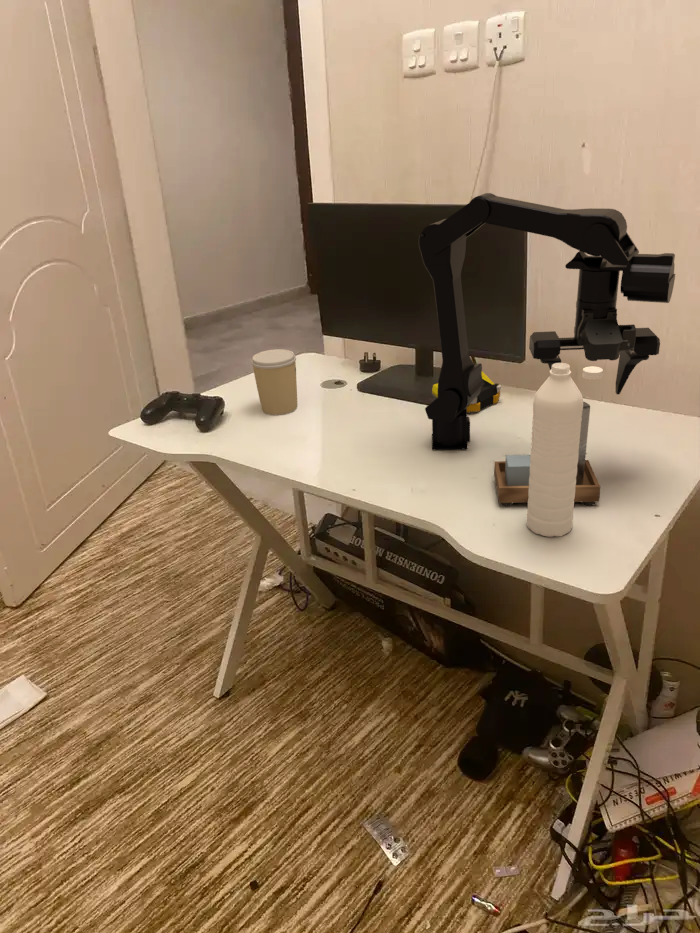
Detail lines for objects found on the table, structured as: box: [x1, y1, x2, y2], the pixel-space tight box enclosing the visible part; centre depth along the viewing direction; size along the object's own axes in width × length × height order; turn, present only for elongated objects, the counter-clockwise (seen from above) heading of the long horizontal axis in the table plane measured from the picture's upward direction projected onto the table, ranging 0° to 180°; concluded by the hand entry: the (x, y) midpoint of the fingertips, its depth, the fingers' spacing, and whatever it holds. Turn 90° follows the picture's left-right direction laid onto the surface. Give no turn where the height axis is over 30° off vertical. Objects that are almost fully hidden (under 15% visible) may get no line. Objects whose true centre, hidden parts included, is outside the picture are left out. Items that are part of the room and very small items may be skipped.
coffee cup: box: [251, 348, 298, 417], centre depth 148 cm, size 9×9×12 cm
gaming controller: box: [431, 370, 502, 414], centre depth 145 cm, size 15×6×10 cm
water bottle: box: [526, 362, 604, 538], centre depth 96 cm, size 9×6×25 cm
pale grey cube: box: [505, 454, 531, 486], centre depth 110 cm, size 4×4×4 cm
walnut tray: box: [493, 459, 601, 507], centre depth 110 cm, size 15×9×3 cm, turn 84°
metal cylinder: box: [576, 401, 591, 485], centre depth 107 cm, size 5×5×13 cm
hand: (587, 394), depth 112 cm, fingers open, 9 cm apart
